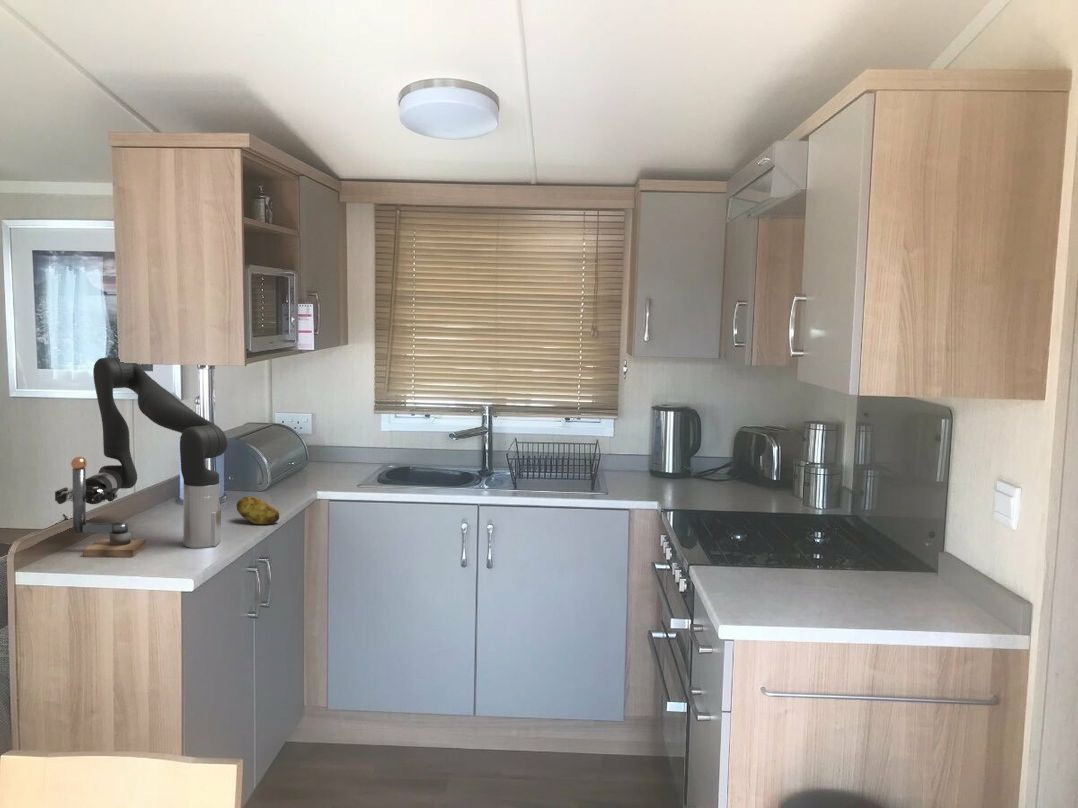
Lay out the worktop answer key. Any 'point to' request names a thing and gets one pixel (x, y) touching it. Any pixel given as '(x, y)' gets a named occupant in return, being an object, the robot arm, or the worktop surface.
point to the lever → (80, 504)
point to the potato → (257, 511)
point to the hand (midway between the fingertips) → (77, 500)
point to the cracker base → (115, 546)
